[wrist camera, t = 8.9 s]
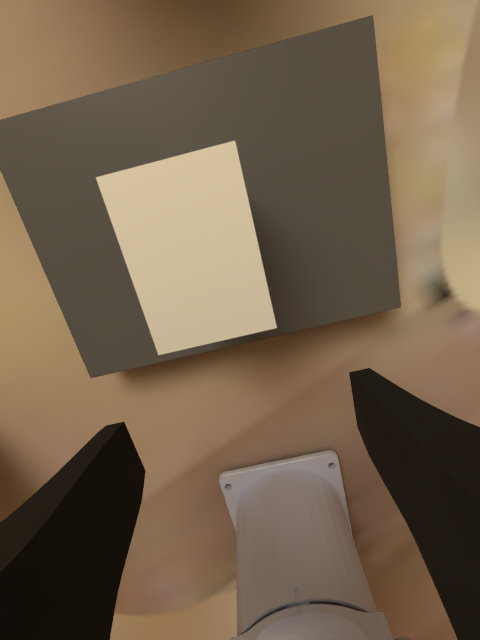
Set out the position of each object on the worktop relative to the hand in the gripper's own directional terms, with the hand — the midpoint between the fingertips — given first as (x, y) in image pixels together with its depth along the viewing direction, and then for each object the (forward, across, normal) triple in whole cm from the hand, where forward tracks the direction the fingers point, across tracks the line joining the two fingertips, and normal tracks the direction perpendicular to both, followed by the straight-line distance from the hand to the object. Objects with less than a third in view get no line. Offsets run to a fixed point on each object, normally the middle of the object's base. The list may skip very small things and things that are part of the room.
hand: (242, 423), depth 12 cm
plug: (+8, 0, -5) cm, 9 cm away
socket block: (+10, 0, -5) cm, 12 cm away
